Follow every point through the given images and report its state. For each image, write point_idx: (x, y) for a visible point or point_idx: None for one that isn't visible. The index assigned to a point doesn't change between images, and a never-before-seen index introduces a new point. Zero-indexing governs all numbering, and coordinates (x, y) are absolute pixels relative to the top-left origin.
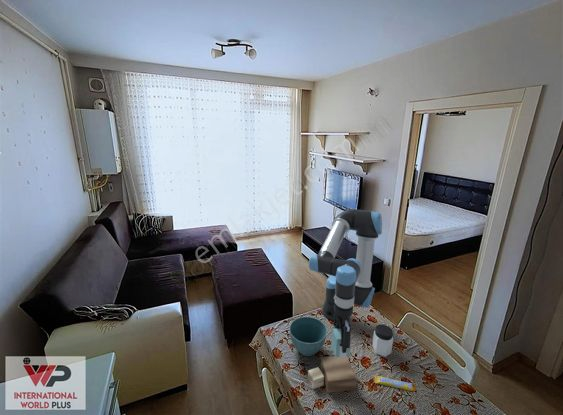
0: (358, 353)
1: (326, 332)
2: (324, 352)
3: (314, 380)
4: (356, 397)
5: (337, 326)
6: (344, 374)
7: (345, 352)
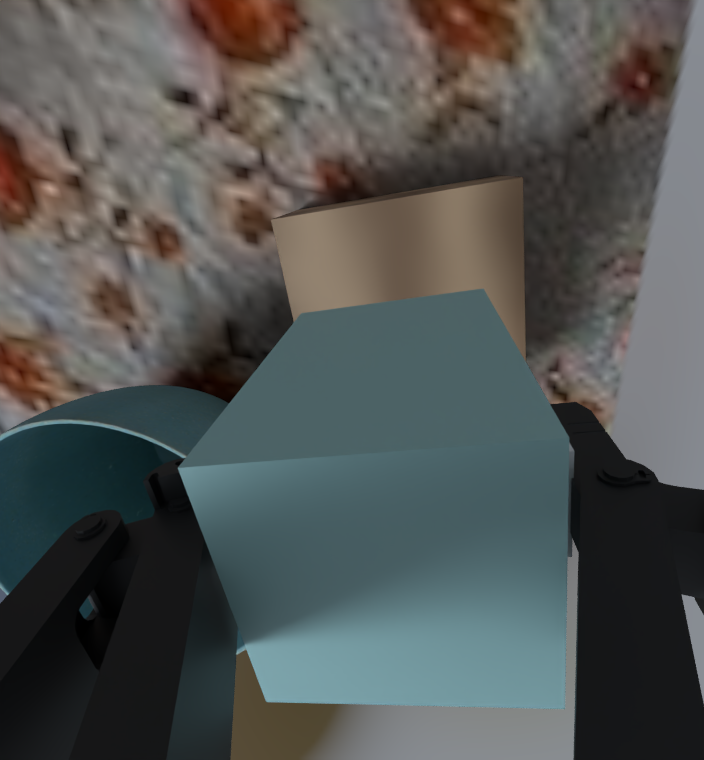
0: (164, 66)
1: (113, 428)
2: (210, 345)
3: None
4: (561, 180)
5: (228, 697)
6: (475, 279)
7: (580, 414)
